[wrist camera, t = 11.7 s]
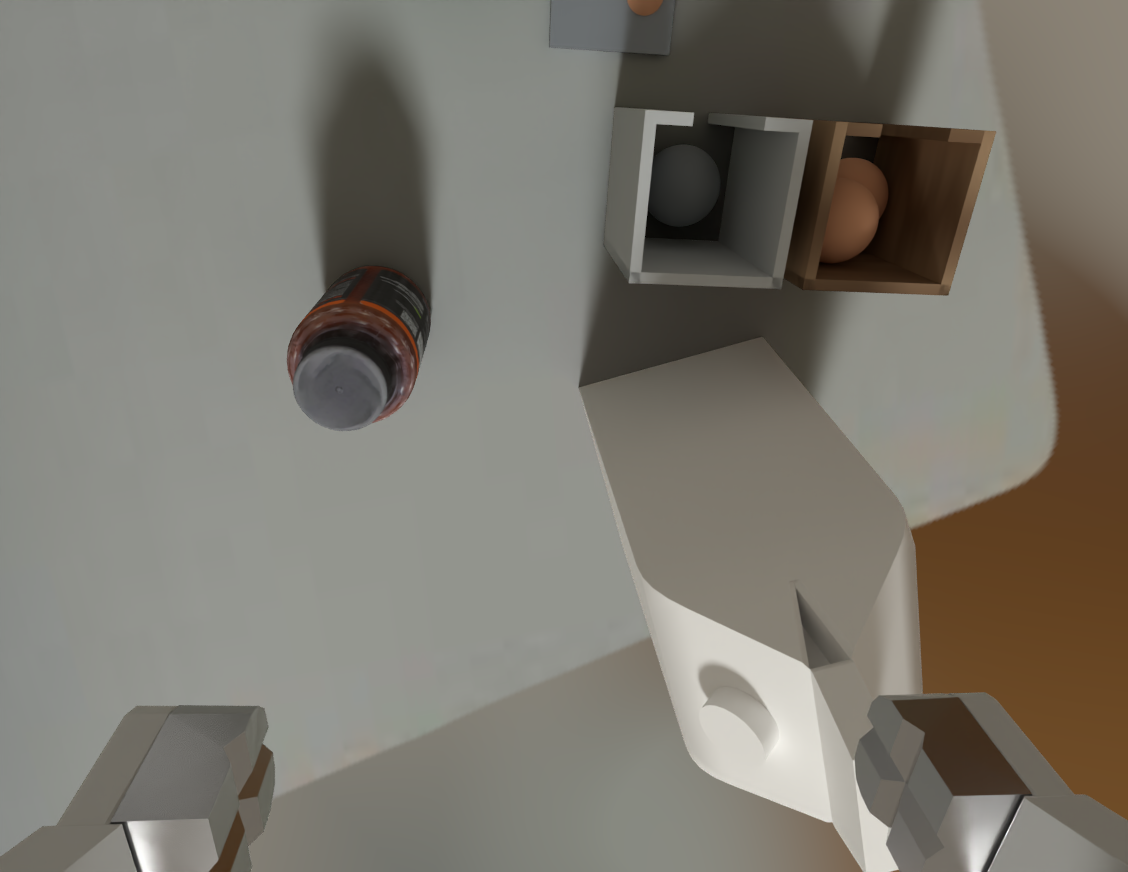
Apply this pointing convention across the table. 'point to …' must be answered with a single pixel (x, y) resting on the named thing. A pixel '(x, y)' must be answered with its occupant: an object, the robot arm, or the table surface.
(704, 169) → the tube ball charcoal
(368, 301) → the supplement bottle
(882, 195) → the tube ball terracotta
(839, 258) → the loose ball
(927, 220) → the walnut tube
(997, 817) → the robot arm
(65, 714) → the table surface
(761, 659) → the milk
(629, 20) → the card
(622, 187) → the grey tube
